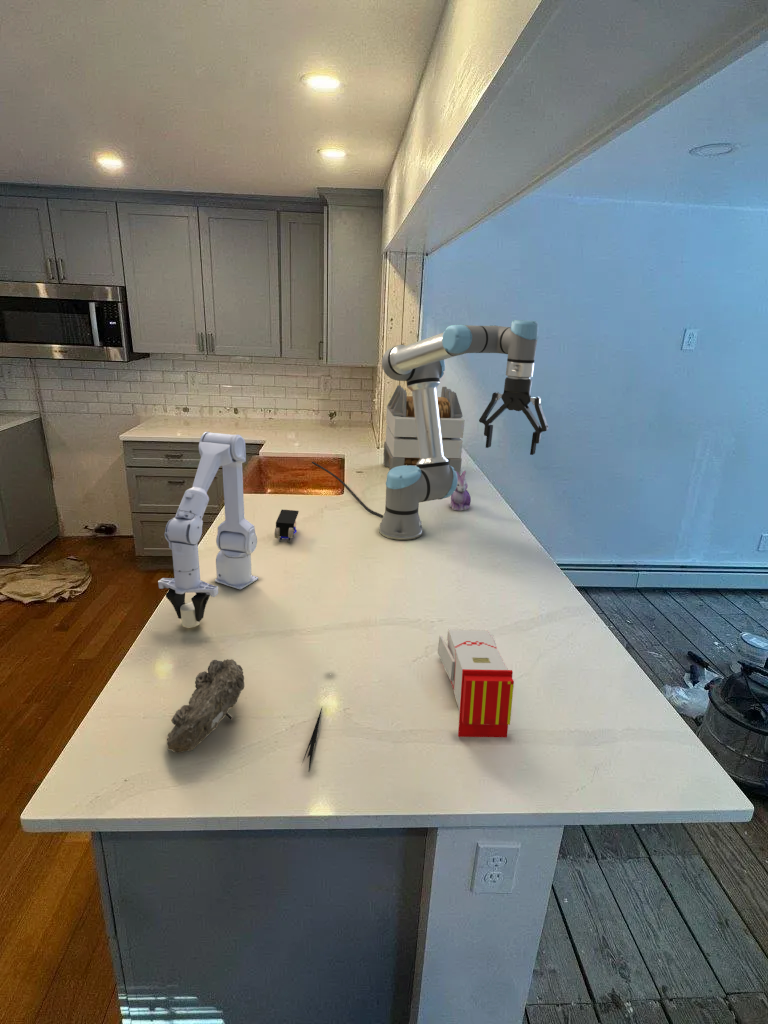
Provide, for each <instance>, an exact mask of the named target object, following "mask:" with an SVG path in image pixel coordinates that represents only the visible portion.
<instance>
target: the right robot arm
mask: <svg viewBox="0 0 768 1024" xmlns="http://www.w3.org/2000/svg"><path fill="white" fill-rule="evenodd" d="M538 339H539V323H538V321H537V320H523V319H522V320H520V319H514V320H512V321H511V326H504V325H503V326H501V325H494V324H493V325H491V324H490V325H473V324H472V325H471V324H470V325H467V324H460V323H459V324H453V325H448V326H447V327H446V329H445V330H444V331H443V332H441V333H438V334H435V335H433V336H430V337H427V338H424V339H421V340H418V341H415V342H413V343H410V344H408V345H405V344H398V345H395V346H392V347H390V348H388V349H386V350H385V352H384V353H383V356H382V358H381V367H382V370H383V372H384V374H385V375H386V376H387V377H388V378H389V379H391V380H393V381H398V382H406V387H407V389H408V390H409V391H411V395H412V396H413V404H414V413H415V421H416V430H417V438H418V447H419V456H420V460H419V461H418V462H417V464H416V466H413V465H408V466H407V465H403V466H398V467H394V468H392V469H391V470H390V469H389V470H388V472H387V475H386V479H385V504H384V505H385V507H384V508H385V509H384V513H383V514H381V513H379V512H377V511H374V510H373V509H371V508H370V507H368V506H367V505H366V504H365V503H364V502H363V501H362V500H361V499H360V498H359V497H358V496H357V494H356V493H354V491H353V490H352V489H351V488H350V487H349V486H348V485H347V484H346V483H345V482H344V481H343V480H342V479H341V478H339V477H338V476H337V475H336V474H334V473H333V472H332V471H330V470H329V469H327V468H325V467H323V466H321V465H319V463H317V462H315V461H311V464H313V465H315V466H316V467H318V468H320V469H321V470H323V471H324V472H326V473H327V474H329V475H331V476H332V477H333V478H335V479H336V480H337V481H339V482H340V483H341V484H342V485H343V486H344V488H346V490H348V491H349V492H350V494H351V495H352V496H353V497H354V498H355V499H356V500H357V501H358V502H359V503H360V504H361V506H363V507H364V509H365V510H367V511H368V512H370V514H374V515H376V516H378V517H380V518H381V522H379V527H378V533H379V534H380V535H381V536H382V537H385V538H387V539H389V540H395V541H410V540H415V539H418V538H420V537H421V536H422V535H423V525H422V520H421V518H420V515H419V507H420V506H419V505H420V503H426V502H431V501H437V500H439V501H440V500H443V499H446V498H450V497H451V495H452V494H453V493H454V491H455V490H456V487H457V481H458V478H457V473H456V471H454V470H455V469H454V468H453V467H452V466H450V465H449V460H448V459H446V458H445V457H444V454H443V445H442V436H441V427H440V418H439V409H438V400H437V397H438V392H437V391H438V390H437V388H438V387H439V385H440V384H441V381H440V379H442V377H443V376H444V374H445V371H446V361H445V360H447V359H451V358H454V357H458V356H462V355H465V354H503V355H507V360H506V369H505V376H507V377H505V379H504V385H503V393H500V392H499V391H495V392H493V393H492V395H491V399H490V401H489V402H488V405H487V406H486V408H485V409H484V411H483V412H482V414H481V416H480V418H479V419H478V422H479V423H481V424H483V425H484V429H483V430H484V431H483V435H484V436H483V437H486V438H485V448H487V449H489V448H491V446H492V440H493V431H494V424H492V423H494V421H496V419H497V418H498V417H500V415H502V414H503V413H504V412H505V411H506V410H508V411H516V412H522V413H523V414H524V415H525V417H526V419H527V420H528V422H529V424H530V425H531V427H532V428H533V430H534V431H533V432H532V437H531V444H530V450H529V451H530V452H529V455H531V456H534V455H535V454H536V450H537V445H538V444H540V443H541V438H542V433H543V432H544V433H545V432H547V431H548V430H549V429H550V427H549V424H548V421H547V418H546V415H545V412H544V410H543V409H544V408H543V407H542V397H541V396H536V397H534V396H532V395H531V392H532V391H531V390H532V385H533V380H532V378H533V375H534V369H535V359H536V351H537V345H538ZM500 400H502V402H503V404H502V405H500V407H499V408H497V410H495V412H494V413H493V414H492V415H491V416H490V414H491V412H492V411H493V409H494V408H495V406H496V404H497V403H498V401H500ZM530 403H532V405H533V406H534V409H535V413H536V414H537V418H538V420H537V418H536V417H535V415H534V413H533V412H532V410H531V408H530V406H529V404H530ZM489 416H490V417H489ZM488 417H489V418H488ZM538 421H539V422H538Z"/></svg>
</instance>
